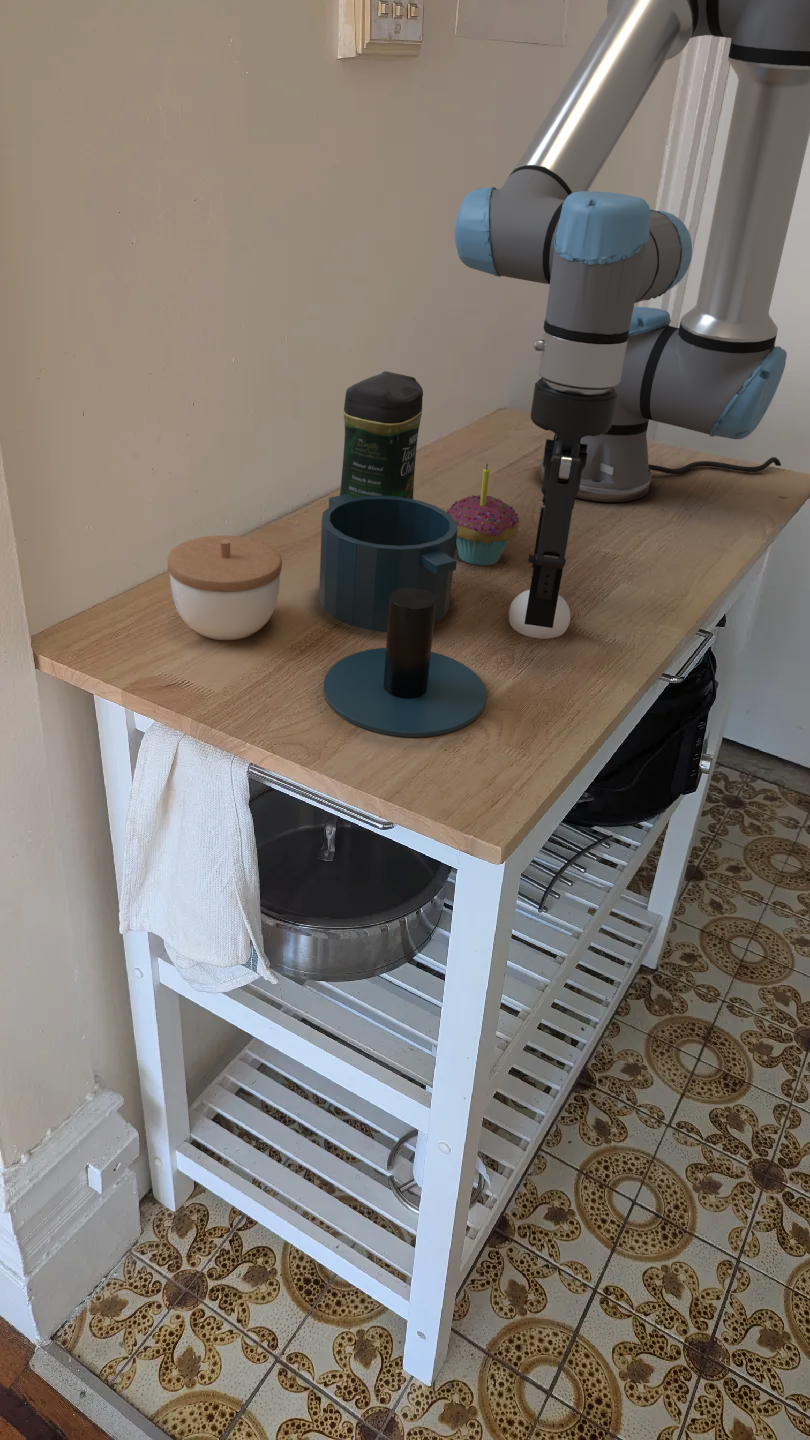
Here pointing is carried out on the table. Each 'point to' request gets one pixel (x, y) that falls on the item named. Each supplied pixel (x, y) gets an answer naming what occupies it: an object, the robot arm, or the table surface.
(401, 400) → the coffee jar
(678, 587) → the table surface
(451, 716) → the lid
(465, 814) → the table surface
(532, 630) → the garlic bulb
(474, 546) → the cupcake
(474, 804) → the table surface
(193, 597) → the trinket box
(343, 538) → the pot
